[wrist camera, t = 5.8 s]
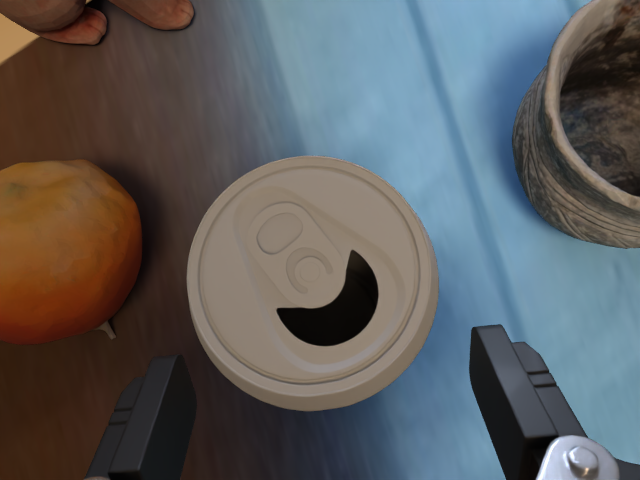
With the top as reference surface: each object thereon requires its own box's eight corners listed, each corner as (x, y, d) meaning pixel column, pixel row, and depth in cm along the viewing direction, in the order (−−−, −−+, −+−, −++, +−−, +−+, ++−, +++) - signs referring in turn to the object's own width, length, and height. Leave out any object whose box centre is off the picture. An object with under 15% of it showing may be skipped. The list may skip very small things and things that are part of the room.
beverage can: (317, 422, 22) (280, 484, 10) (233, 308, 23) (116, 247, 12) (427, 331, 22) (512, 291, 11) (339, 225, 24) (330, 90, 12)
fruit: (-40, 387, 22) (-173, 262, 16) (44, 256, 27) (-32, 130, 22) (141, 396, 21) (68, 269, 15) (188, 260, 27) (148, 131, 21)
